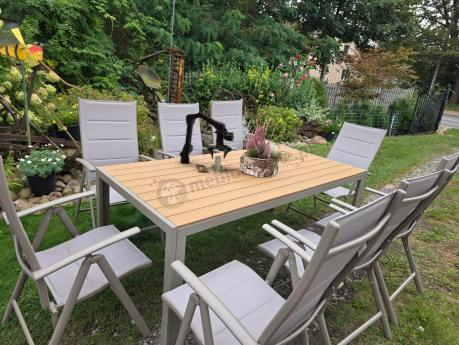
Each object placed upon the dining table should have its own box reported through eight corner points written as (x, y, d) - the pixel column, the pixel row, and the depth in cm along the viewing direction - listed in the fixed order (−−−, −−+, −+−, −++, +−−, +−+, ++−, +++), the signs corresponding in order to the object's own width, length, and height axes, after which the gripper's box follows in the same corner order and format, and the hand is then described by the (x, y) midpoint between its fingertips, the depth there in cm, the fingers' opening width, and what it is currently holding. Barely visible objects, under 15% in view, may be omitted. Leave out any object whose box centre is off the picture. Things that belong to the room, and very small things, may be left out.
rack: (198, 171, 222) (199, 169, 222) (195, 166, 232) (195, 164, 231) (206, 170, 224) (206, 169, 224) (203, 166, 234) (203, 164, 233)
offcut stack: (197, 173, 219) (198, 169, 218) (197, 171, 222) (198, 168, 221) (208, 173, 220) (208, 170, 219) (208, 172, 223) (208, 169, 222)
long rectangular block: (216, 169, 229) (217, 157, 226) (214, 166, 234) (215, 155, 232) (220, 169, 230) (221, 157, 227) (218, 166, 235) (218, 155, 233)
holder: (214, 170, 227) (214, 167, 226) (211, 166, 235) (211, 163, 234) (223, 170, 229) (224, 167, 229) (220, 166, 238) (220, 163, 237)
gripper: (210, 141, 215) (209, 162, 220) (234, 142, 221) (232, 162, 226) (206, 138, 225) (205, 158, 230) (230, 139, 231) (228, 158, 236)
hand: (218, 159), depth 230 cm, fingers open, 9 cm apart
